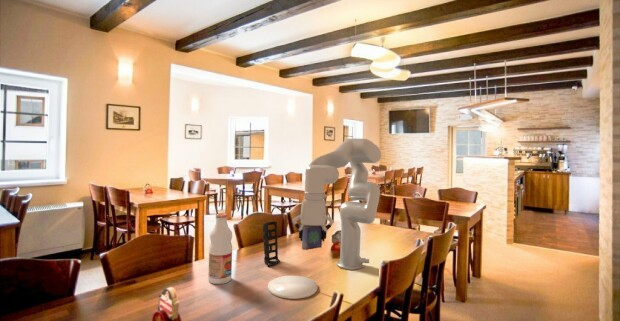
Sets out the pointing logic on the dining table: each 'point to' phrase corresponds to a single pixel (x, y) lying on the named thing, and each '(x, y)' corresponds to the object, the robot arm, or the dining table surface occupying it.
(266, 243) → the holder
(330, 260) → the dining table surface
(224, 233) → the fruit juice
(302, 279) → the plate
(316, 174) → the robot arm
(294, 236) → the dining table surface
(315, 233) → the flask
